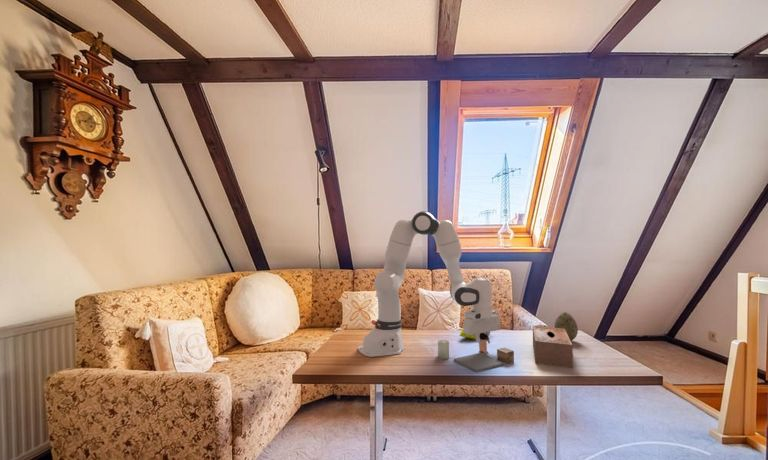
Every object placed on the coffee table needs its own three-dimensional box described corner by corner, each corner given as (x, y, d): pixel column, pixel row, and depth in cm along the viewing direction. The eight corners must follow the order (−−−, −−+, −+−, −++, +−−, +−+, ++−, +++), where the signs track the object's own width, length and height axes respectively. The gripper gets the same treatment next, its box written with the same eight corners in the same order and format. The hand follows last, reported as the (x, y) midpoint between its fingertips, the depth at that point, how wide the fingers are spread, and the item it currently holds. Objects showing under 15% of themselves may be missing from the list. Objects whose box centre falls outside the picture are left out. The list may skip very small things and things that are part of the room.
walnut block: (505, 364, 149) (505, 352, 149) (497, 360, 153) (497, 349, 153) (513, 362, 151) (513, 350, 151) (504, 358, 156) (504, 347, 156)
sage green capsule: (442, 359, 154) (442, 344, 154) (435, 356, 158) (435, 340, 158) (451, 357, 156) (451, 342, 156) (444, 354, 161) (444, 339, 161)
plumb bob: (467, 345, 175) (499, 331, 189) (463, 327, 177) (494, 314, 190) (455, 344, 183) (486, 330, 197) (451, 327, 184) (482, 315, 198)
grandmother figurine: (491, 352, 163) (492, 325, 163) (489, 355, 159) (489, 327, 160) (475, 349, 167) (476, 323, 167) (473, 351, 164) (473, 324, 164)
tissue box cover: (532, 345, 174) (532, 325, 174) (564, 349, 169) (564, 328, 169) (535, 363, 150) (535, 340, 150) (572, 368, 145) (572, 344, 145)
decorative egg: (553, 337, 187) (552, 309, 187) (575, 339, 184) (575, 310, 184) (556, 343, 177) (556, 313, 177) (579, 345, 174) (579, 315, 174)
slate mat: (476, 372, 140) (476, 369, 140) (453, 360, 152) (453, 358, 152) (504, 365, 148) (504, 362, 148) (480, 354, 160) (480, 352, 160)
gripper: (493, 308, 171) (493, 336, 171) (461, 313, 161) (461, 342, 161) (503, 311, 165) (503, 340, 165) (470, 316, 156) (470, 346, 156)
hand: (482, 341), depth 163 cm, fingers closed on grandmother figurine, 3 cm apart
